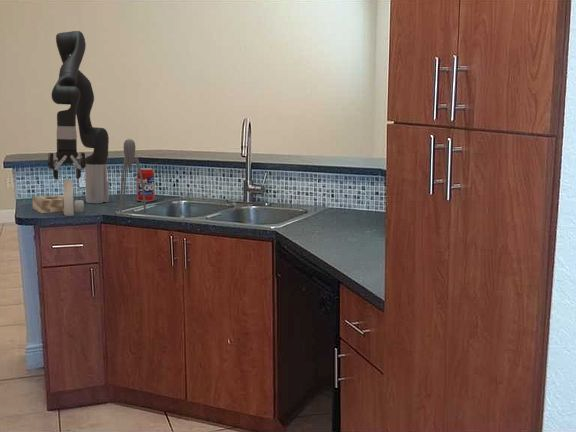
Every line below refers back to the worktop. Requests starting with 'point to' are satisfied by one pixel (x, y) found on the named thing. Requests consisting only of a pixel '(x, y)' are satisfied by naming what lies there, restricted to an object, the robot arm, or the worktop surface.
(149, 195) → the soda can
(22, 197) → the worktop surface
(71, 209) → the tall ivory dowel
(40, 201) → the birch socket block
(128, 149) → the citrus juicer
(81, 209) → the short grey dowel
